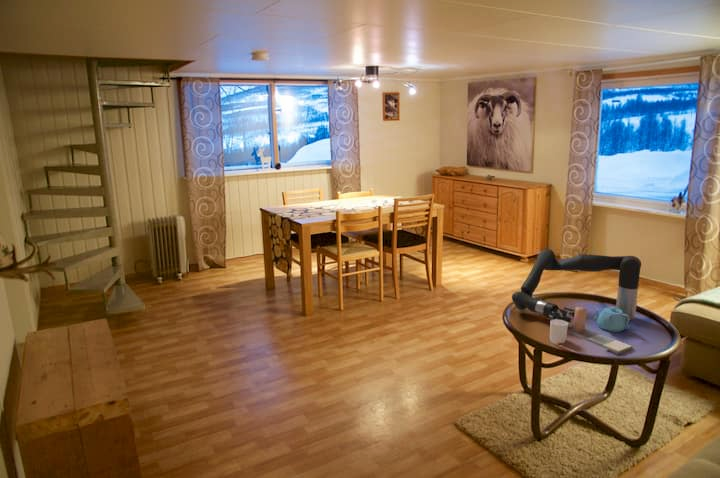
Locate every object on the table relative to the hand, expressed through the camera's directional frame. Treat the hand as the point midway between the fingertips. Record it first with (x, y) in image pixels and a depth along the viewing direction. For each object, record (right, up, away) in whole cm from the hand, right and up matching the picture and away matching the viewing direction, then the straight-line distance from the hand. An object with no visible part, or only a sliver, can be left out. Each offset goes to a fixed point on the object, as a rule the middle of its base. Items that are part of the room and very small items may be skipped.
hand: (575, 318), depth 247 cm
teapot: (+20, -7, +6) cm, 22 cm away
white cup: (-13, -10, -9) cm, 19 cm away
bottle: (+1, -6, 0) cm, 7 cm away
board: (+7, -9, -8) cm, 14 cm away
